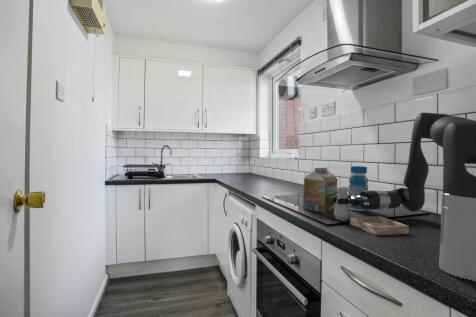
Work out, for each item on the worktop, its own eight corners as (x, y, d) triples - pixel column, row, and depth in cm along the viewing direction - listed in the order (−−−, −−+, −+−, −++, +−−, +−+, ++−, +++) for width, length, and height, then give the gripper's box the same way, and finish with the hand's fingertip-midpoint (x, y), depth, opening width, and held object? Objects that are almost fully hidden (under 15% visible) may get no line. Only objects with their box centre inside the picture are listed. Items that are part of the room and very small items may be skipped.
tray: (408, 233, 84) (408, 225, 84) (375, 235, 81) (375, 227, 81) (379, 222, 96) (379, 216, 96) (349, 223, 93) (350, 217, 93)
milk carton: (315, 205, 124) (317, 166, 124) (336, 209, 116) (337, 168, 116) (303, 208, 117) (304, 167, 117) (324, 213, 109) (325, 168, 109)
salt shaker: (350, 222, 96) (352, 187, 95) (334, 221, 97) (336, 186, 96) (347, 218, 101) (348, 185, 101) (332, 217, 102) (333, 185, 102)
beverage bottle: (352, 211, 114) (354, 166, 114) (344, 207, 123) (345, 165, 122) (371, 211, 115) (372, 167, 114) (361, 207, 123) (363, 166, 122)
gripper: (362, 188, 109) (325, 188, 105) (388, 193, 95) (346, 193, 91) (361, 205, 109) (325, 206, 105) (387, 213, 95) (346, 214, 91)
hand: (335, 200), depth 98 cm, fingers closed on salt shaker, 3 cm apart
